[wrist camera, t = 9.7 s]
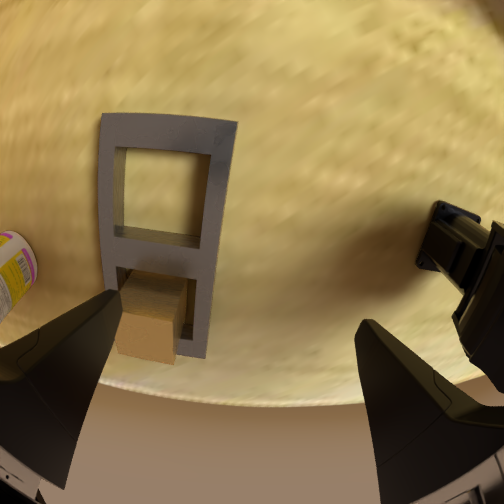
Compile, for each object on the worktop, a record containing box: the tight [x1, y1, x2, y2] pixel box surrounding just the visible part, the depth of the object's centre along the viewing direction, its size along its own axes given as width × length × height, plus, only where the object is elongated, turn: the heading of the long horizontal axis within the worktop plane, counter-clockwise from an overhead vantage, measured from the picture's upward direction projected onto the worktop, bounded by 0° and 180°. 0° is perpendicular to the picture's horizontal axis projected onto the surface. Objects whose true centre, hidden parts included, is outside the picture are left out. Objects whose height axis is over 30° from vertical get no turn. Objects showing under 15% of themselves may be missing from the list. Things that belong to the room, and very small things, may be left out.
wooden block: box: [115, 269, 188, 365], centre depth 20 cm, size 4×4×6 cm
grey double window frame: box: [98, 113, 238, 359], centre depth 20 cm, size 9×20×2 cm, turn 170°
